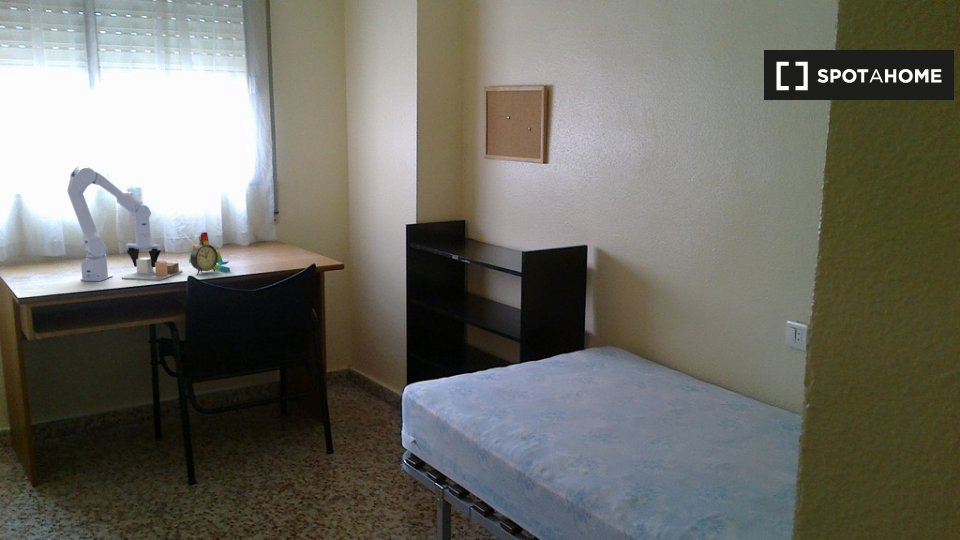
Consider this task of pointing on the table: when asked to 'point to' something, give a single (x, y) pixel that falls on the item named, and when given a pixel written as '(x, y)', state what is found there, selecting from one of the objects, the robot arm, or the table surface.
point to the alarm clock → (204, 257)
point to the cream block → (144, 265)
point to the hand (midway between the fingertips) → (145, 266)
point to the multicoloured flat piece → (219, 261)
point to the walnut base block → (172, 268)
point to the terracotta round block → (161, 269)
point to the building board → (148, 276)
